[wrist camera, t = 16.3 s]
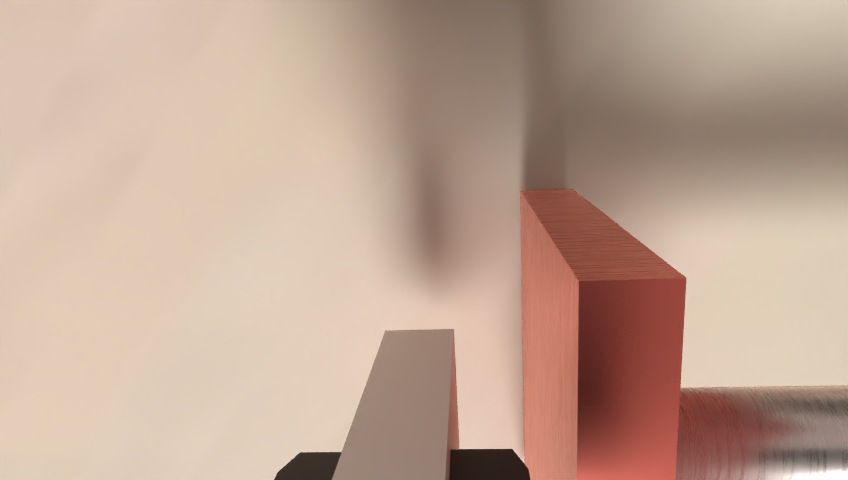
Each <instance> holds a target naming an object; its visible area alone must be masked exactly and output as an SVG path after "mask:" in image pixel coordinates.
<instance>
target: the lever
mask: <svg viewBox="0 0 848 480" xmlns="http://www.w3.org/2000/svg"><path fill="white" fill-rule="evenodd" d="M521 252H522V320H523V388H524V456H525V465H526V467H527V468H528V469H529V474H530V480H848V385H832V386H764V387H695V388H680V384H681V365H682V347H683V328H684V310H685V292H686V277H684V276H683V275H682V274H681V273H679V272H678V271H677V270H676V269H674V268H673V267H672V266H670V265H669V264H668V263H667V262H665V261H664V260H663V259H661V258H660V257H659V256H658V255H656V254H655V253H654V252H652V251H651V250H650V249H649V248H647V247H646V246H645V245H643V244H642V243H641V242H640V241H638V240H637V239H636V238H635V237H633V236H632V235H631V234H629V233H628V232H627V231H626V230H624V229H623V228H622V227H620V226H619V225H618V224H617V223H615V222H614V221H613V220H611V219H610V218H609V217H608V216H606V215H605V214H604V213H603V212H601V211H600V210H599V209H597V208H596V207H595V206H594V205H592V204H591V203H590V202H588V201H587V200H586V199H585V198H583V197H582V196H581V195H579V194H578V193H577V192H576V191H574V190H573V189H562V190H538V191H521Z"/></svg>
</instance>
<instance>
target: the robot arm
mask: <svg viewBox="0 0 848 480" xmlns="http://www.w3.org/2000/svg"><path fill="white" fill-rule="evenodd" d="M274 480H530V474H529V469H528V468H527V467H526V465H525V464H524V463H523V462H522V460H521V459H520V458H519V457H518V456H517V454H516V453H515V452H514V451H513V449H459V429H458V407H457V386H456V365H455V343H454V329H438V330H396V331H385V333H384V336H383V339H382V342H381V345H380V347H379V350H378V353H377V356H376V358H375V361H374V364H373V367H372V370H371V372H370V375H369V378H368V381H367V383H366V386H365V389H364V392H363V395H362V397H361V400H360V403H359V406H358V408H357V411H356V414H355V417H354V420H353V422H352V425H351V428H350V431H349V433H348V436H347V439H346V442H345V445H344V447H343V450H342V452H307V453H299V454H298V455H297V456H296V457H295V458H294V459H292V460H291V461H290V462H289V463H288V464H287V465H286V466H284V467H283V468H282V469H281V470H280V471H279V472H278V473H277V475H276V477H275V479H274Z"/></svg>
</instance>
